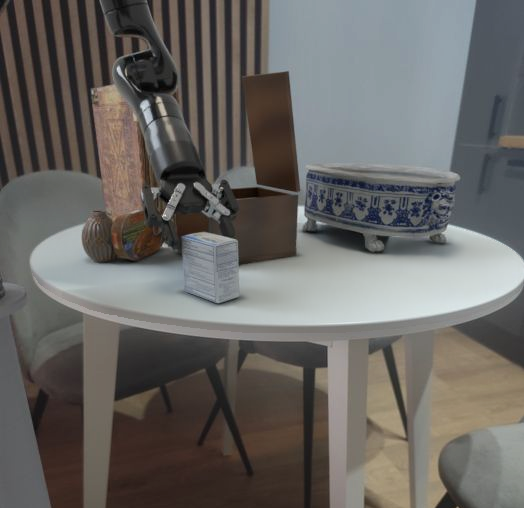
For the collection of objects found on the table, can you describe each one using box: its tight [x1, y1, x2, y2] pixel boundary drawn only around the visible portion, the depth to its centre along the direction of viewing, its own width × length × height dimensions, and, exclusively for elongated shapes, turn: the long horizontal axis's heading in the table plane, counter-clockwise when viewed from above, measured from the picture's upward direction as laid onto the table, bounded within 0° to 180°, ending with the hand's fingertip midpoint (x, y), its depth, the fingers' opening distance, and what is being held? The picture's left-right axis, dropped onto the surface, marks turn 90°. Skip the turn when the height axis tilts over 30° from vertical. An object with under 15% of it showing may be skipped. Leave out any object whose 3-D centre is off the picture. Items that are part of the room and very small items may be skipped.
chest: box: [175, 186, 299, 265], centre depth 95 cm, size 19×14×11 cm
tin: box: [111, 209, 165, 262], centre depth 94 cm, size 15×3×8 cm, turn 161°
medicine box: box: [181, 232, 240, 304], centre depth 73 cm, size 8×4×9 cm, turn 44°
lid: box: [241, 70, 301, 193], centre depth 92 cm, size 20×14×1 cm
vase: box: [81, 209, 118, 263], centre depth 91 cm, size 7×7×9 cm
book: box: [90, 84, 181, 232], centre depth 110 cm, size 25×9×30 cm, turn 35°
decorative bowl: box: [302, 162, 461, 253], centre depth 109 cm, size 42×27×15 cm, turn 32°
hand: (204, 244), depth 73 cm, fingers open, 8 cm apart
